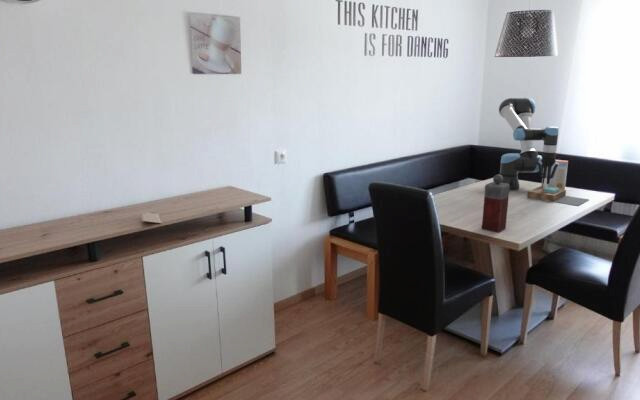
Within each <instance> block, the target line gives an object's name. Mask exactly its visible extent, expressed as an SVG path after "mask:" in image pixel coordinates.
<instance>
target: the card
mask: <svg viewBox="0 0 640 400" xmlns="http://www.w3.org/2000/svg"><path fill="white" fill-rule="evenodd" d="M558 191H559V188H557V187H550V186H549V187H547V188H545V189H544V192H548V193H556V192H558Z"/></svg>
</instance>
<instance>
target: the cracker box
mask: <svg viewBox="0 0 640 400" xmlns="http://www.w3.org/2000/svg"><path fill="white" fill-rule="evenodd" d="M555 160H556V163H558V164H559V166H558V167H557V169H556V172H555V174H554V177H553V178H551V179H550V183H549V184H548V187H549V186H550V187H557V188H559V189H562V190H566V185H567V174H568V167H569V166H568V165H569V160H562V159H555ZM553 168H554V165H553V166H552V168H551V173H552V171H553ZM542 169H543V170H544V166H542ZM547 173H548V167H547ZM541 178H542V177H541ZM546 178H547V174H546ZM542 182H543V178H542V179H541V184H540V185H541V186H543V187H544V183H542Z"/></svg>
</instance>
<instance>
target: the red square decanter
mask: <svg viewBox="0 0 640 400" xmlns="http://www.w3.org/2000/svg"><path fill="white" fill-rule="evenodd" d="M492 179H493V181H491V182H489V183H486V184H485V186H484V198H483V210H482V221H481V230H483V231H489V232H493V233H498V234H499V233H501V232H503V231H504V230H506V227H507V218H508V217H507V216H508V207H509V198H510V197H509V196H510V190H509V188H510V185H509V184H507V183H501V182H502V181H503V177H502V175H500V173H499V174H496V175H494V176H493V177H492Z"/></svg>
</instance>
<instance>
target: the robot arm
mask: <svg viewBox="0 0 640 400" xmlns="http://www.w3.org/2000/svg"><path fill="white" fill-rule="evenodd" d="M498 112H499V116H501V117H502V118H503V119H505V121H506V122H507V123H508V125H509V127H510V129H512V131H513V132H512V134H513V136H512V137H513V140H514V141H519V142H520V144H519V145H520V151H521V152H520V153H519V152H515V153H514V152H511V153H509V152H508V153H505V154H502V156H501V157H500V158H501V159H500V168H499V174H500V175H502V177H503V181H502V182H501V183H507V184H509V185H510V188H509V191H513V190H514V191H515V190H516V191H517V190H519V189H520V181H519V177H518V176H519V173H539V177H540V178H543V182H542V181H541V184H542V183H544V187H543V189H545V188H547V187H548V184H549V183H550V179H551V178H553V177H554V174H555V172H556V169H557V167H558V166H559V164H558V163H556V160H557V159H556V157H557V153H556V152H557V148H558V147H557V145H558V139H559V127H558V126H546V127H538V128H533V126H532V117H533V115H534V113H535V112H536V104H535V101H534V99H532V98H527V97H524V98H523V97H520V98H519V97H518V98H517V97H515V98H514V97H513V98H512V97H511V98H506V99H504V100H503V101H502V102H501V103H500V104H499V106H498ZM535 141H543V144H542V145H543V147H542V155H539V151H537V150H536V149H535ZM553 165H554V168H553V171H552V173H551V168H552V166H553ZM543 167H544V170H543ZM547 167H548V173H547ZM546 174H547V178H546Z"/></svg>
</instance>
